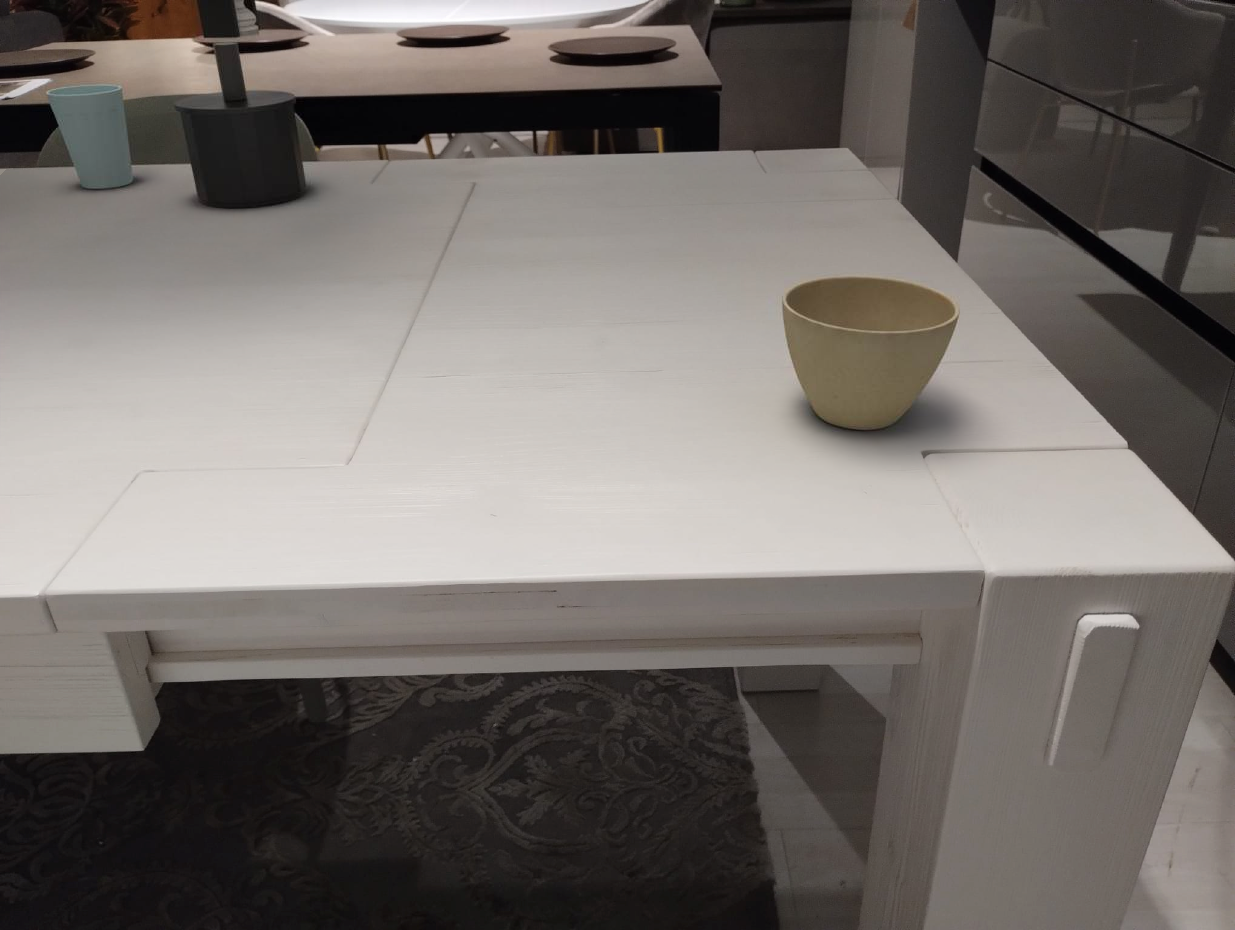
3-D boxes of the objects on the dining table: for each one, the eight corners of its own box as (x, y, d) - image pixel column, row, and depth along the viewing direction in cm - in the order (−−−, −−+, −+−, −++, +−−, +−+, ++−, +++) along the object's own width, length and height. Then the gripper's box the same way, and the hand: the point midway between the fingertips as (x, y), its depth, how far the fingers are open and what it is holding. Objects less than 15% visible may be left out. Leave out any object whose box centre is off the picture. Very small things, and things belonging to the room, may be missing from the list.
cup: (58, 185, 118) (33, 90, 113) (123, 173, 123) (101, 82, 118) (89, 195, 113) (64, 97, 108) (154, 182, 118) (133, 88, 113)
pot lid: (158, 122, 103) (142, 51, 99) (200, 102, 113) (187, 37, 110) (278, 120, 103) (266, 49, 99) (309, 100, 113) (299, 36, 110)
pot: (182, 209, 107) (162, 115, 103) (218, 183, 117) (201, 97, 113) (290, 207, 107) (274, 113, 103) (317, 182, 117) (304, 95, 113)
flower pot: (946, 458, 57) (966, 338, 53) (767, 441, 59) (775, 325, 55) (938, 385, 65) (954, 278, 62) (781, 373, 67) (788, 269, 64)
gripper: (174, -344, 65) (243, 45, 77) (259, -296, 81) (306, 23, 92) (59, -342, 65) (144, 46, 77) (166, -294, 81) (224, 24, 92)
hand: (232, 33), depth 84 cm, fingers closed on chess piece, 4 cm apart
